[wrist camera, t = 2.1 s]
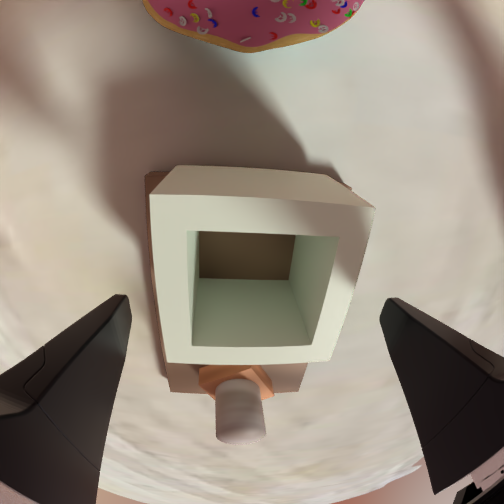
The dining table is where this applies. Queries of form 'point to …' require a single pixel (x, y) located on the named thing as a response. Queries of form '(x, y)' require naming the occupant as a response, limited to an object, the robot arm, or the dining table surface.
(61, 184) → the dining table surface
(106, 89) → the dining table surface
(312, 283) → the square hollow sleeve
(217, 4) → the cupcake
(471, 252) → the dining table surface
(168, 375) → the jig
